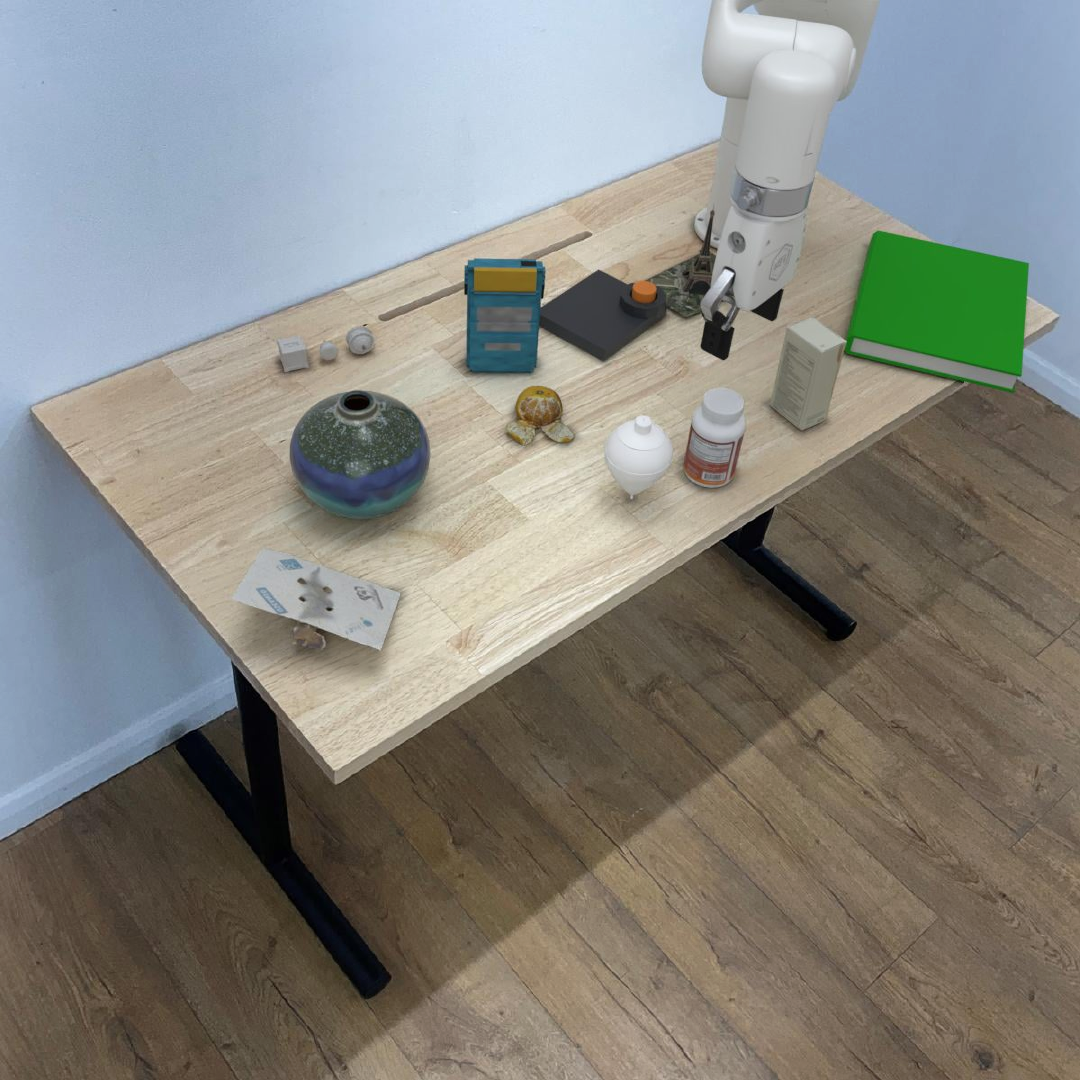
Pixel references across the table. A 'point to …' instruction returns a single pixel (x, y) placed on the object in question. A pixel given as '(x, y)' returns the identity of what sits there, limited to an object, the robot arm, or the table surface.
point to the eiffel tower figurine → (689, 279)
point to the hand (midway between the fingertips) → (738, 333)
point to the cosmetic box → (807, 372)
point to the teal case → (503, 314)
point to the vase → (360, 454)
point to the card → (318, 599)
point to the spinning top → (638, 454)
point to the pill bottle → (715, 438)
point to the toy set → (322, 348)
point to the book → (941, 311)
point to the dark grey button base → (601, 314)
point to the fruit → (538, 416)
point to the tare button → (644, 292)
